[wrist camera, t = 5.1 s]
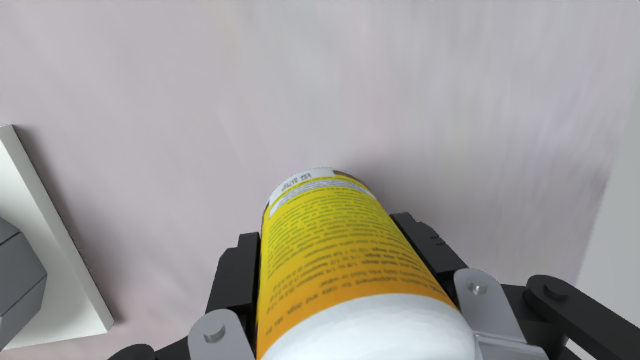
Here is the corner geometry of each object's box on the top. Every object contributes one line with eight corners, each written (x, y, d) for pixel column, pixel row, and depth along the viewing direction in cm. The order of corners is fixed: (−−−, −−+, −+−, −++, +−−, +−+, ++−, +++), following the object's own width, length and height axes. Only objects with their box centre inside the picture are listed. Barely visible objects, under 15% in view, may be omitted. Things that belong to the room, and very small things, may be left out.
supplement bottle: (239, 193, 12) (135, 621, 3) (352, 143, 12) (615, 425, 3) (291, 274, 15) (323, 644, 5) (384, 233, 14) (581, 541, 5)
